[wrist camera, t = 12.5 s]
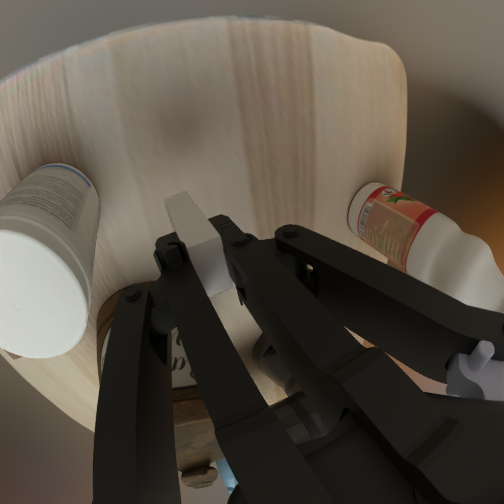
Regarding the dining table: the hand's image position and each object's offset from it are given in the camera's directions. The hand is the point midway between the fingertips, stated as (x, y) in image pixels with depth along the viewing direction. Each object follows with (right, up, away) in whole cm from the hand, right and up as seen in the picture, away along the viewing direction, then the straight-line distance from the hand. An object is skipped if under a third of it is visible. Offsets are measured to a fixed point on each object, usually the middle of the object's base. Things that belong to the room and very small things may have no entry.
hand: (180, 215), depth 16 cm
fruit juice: (+23, +5, +24) cm, 33 cm away
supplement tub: (-15, +2, +5) cm, 16 cm away
